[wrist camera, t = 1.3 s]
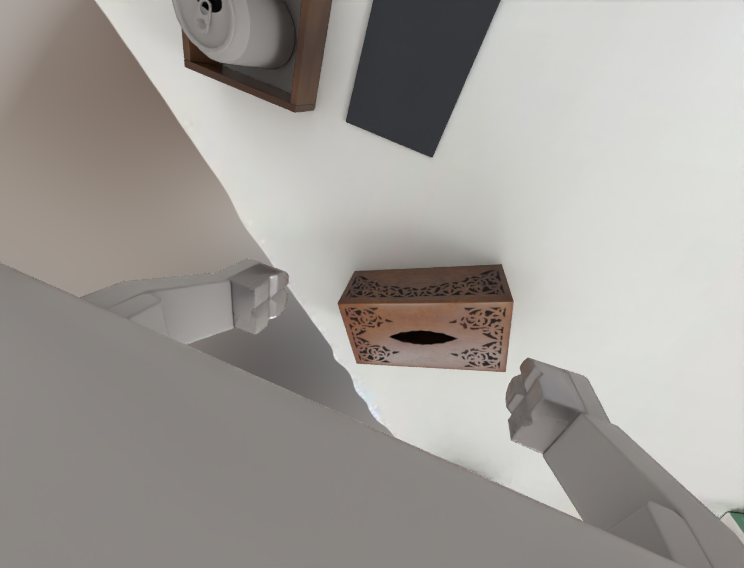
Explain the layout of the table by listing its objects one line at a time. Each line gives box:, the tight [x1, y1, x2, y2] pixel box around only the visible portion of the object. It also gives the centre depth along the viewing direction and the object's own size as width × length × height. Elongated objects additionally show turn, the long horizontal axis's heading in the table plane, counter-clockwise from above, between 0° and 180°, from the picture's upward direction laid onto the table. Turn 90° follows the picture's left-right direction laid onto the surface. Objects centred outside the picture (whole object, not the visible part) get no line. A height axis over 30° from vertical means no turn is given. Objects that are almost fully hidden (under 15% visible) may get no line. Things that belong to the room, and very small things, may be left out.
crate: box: [182, 0, 332, 113], centre depth 32 cm, size 13×15×6 cm
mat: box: [346, 0, 500, 157], centre depth 32 cm, size 20×13×1 cm, turn 162°
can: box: [172, 0, 294, 69], centre depth 30 cm, size 8×8×12 cm
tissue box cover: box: [338, 265, 513, 372], centre depth 48 cm, size 26×14×10 cm, turn 101°
